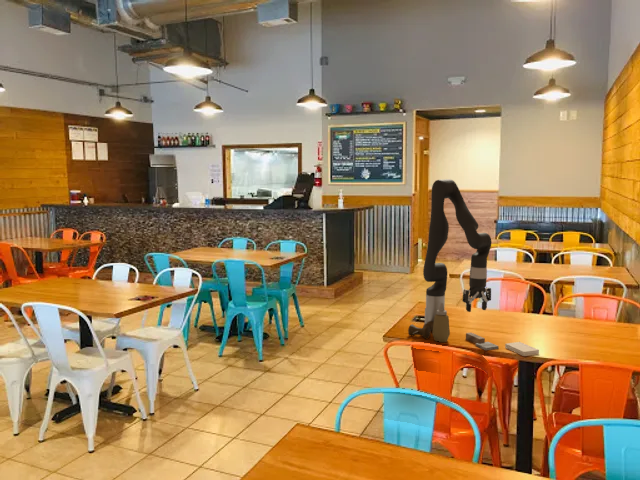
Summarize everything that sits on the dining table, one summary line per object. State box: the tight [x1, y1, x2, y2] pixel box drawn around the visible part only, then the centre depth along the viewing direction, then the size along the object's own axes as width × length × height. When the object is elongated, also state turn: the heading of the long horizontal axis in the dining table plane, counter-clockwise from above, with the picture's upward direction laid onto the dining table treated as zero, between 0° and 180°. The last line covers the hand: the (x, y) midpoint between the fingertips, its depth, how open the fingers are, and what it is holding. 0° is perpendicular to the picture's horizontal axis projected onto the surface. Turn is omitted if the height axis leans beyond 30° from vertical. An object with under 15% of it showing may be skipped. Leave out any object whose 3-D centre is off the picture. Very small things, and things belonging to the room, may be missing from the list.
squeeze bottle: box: [431, 303, 451, 343], centre depth 251 cm, size 8×8×18 cm
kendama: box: [407, 321, 434, 340], centre depth 261 cm, size 6×10×20 cm
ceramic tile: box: [504, 341, 540, 357], centre depth 238 cm, size 2×8×12 cm
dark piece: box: [465, 332, 500, 351], centre depth 247 cm, size 17×7×3 cm, turn 21°
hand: (476, 310), depth 249 cm, fingers open, 8 cm apart
